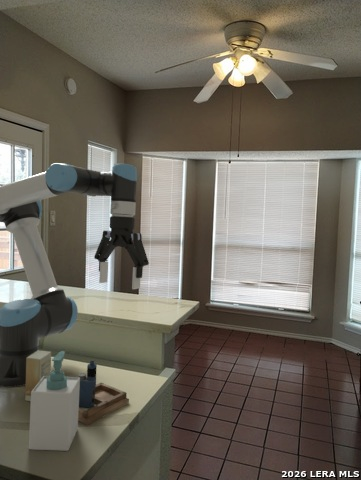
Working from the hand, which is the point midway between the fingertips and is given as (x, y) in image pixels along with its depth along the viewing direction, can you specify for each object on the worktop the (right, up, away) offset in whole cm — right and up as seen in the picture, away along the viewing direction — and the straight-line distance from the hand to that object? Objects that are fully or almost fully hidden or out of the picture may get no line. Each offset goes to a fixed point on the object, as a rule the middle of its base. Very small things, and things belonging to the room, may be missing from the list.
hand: (119, 285), depth 115 cm
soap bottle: (-10, -32, -29) cm, 44 cm away
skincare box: (-21, -30, -10) cm, 38 cm away
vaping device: (-6, -30, -16) cm, 34 cm away
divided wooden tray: (-5, -31, -13) cm, 34 cm away
